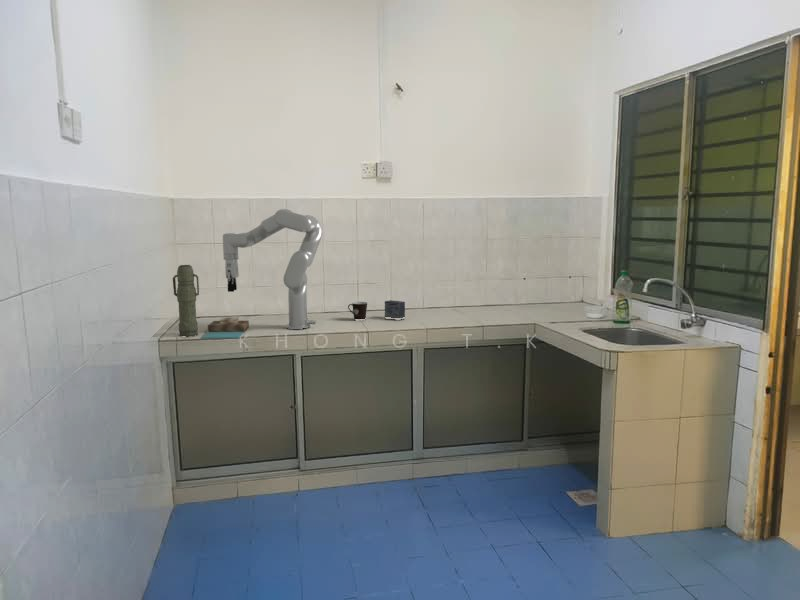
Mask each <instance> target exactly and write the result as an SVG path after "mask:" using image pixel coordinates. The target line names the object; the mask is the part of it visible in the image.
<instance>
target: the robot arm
mask: <svg viewBox="0 0 800 600" xmlns="http://www.w3.org/2000/svg"><path fill="white" fill-rule="evenodd" d="M285 228H286V229H288V230H292V231H297V232H300V233H305V235H304V237H303V240H302V242H301V245H300V247H299V249H298V251H295V252H294V253H293V254H291V255H292V256H291V257H290V259H289V262H288V264H287V267H286V269H285V272H284V274H283V284H284V285H285V287H287V288H288V290H287V291H288V324H286V326H285V327H286V329H287V328H288V330H293V329H300V330H304V329H303V328H307V329H309V328H311V325H316V320H313V319H312V320H310V319H309V318H308V307H307V305H308V303H307V302H308V301H307V299H308V298H307V292H308V290H307V289H308V288H307V286H308V276H307V273H306V271H307V268H309V267H310V266H311V265H312V264H313V261H314V259H315V257H316V253H317V251H318V248H319V245H320V243H321V240H322V236H323V228H322V226H321V223H320V221H319V220H318V219H317V218H316V217H314V216H313V215H310V214H309V215H308V214H305V215H303V214H299V213H296V212H293V211H292V210H290V209H288V208H286V209H285V208H281V209H278V210H277V211H276V212H275V213H274V214H273V215H271V216H269V217H268V218H266V219H263V220H262V221H261V222H260V224H259V225H258V226H256V227H255V228H253V229H251V230H249V231H247V232H242V233H241V232H240V233H234V232H232V233H231V232H226V233H223V234H222V251H223V252H222V253H223V261H225V264H224V265H225V268H224V269H225V278H226V279H227V292H228V293H229V292H233V293H234V292H235V291H237V290H238V288H237V279H238V278H239V276H240V274H239V263H238V260H239V248H240V249H241V248H244V249H245V248H249V247H252V246H255V245H256V244H258V243H260V242H262V241H263V240H265V239H267V238H269V237H271V236H272V235H274V234H276V233H278V232H280V231H282V230H283V229H285ZM308 327H309V328H308Z"/></svg>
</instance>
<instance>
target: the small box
mask: <svg viewBox="0 0 800 600" xmlns="http://www.w3.org/2000/svg"><path fill="white" fill-rule="evenodd" d="M405 305H406V302H405V301H401V300H384V318H385V317H391V318H403V317H405V318H406V309H405V308H406V306H405Z"/></svg>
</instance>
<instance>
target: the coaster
mask: <svg viewBox="0 0 800 600" xmlns="http://www.w3.org/2000/svg"><path fill="white" fill-rule="evenodd" d="M219 321H220V324H221V323H237V322H238V321H239V316H238V317H235V316H234V317H233V316H232V317H226V316H225V317H222V318H220V319H219Z"/></svg>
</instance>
